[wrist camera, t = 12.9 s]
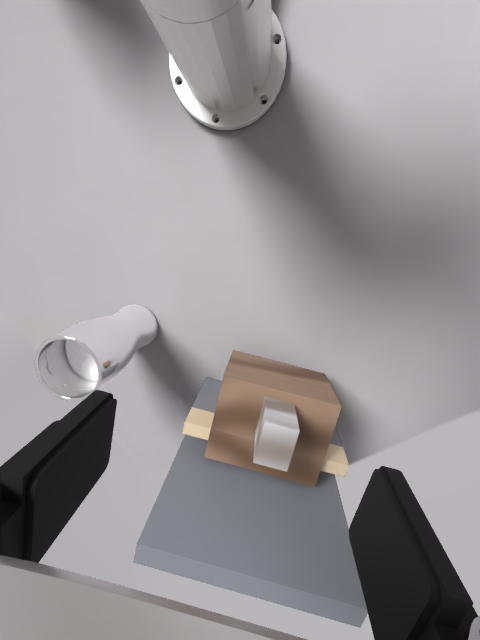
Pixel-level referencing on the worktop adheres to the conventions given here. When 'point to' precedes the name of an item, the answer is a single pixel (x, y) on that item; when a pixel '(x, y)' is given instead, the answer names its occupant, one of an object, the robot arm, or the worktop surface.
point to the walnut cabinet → (273, 418)
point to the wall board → (254, 527)
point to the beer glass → (93, 352)
